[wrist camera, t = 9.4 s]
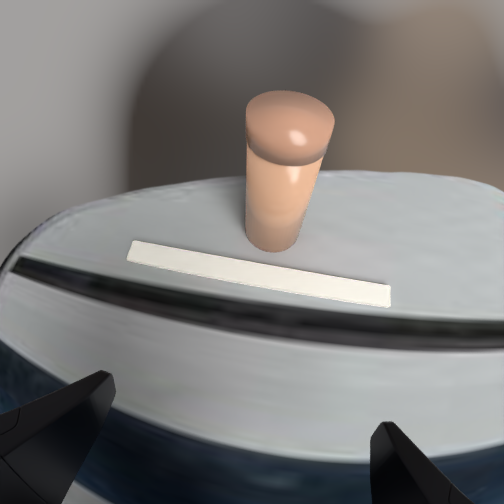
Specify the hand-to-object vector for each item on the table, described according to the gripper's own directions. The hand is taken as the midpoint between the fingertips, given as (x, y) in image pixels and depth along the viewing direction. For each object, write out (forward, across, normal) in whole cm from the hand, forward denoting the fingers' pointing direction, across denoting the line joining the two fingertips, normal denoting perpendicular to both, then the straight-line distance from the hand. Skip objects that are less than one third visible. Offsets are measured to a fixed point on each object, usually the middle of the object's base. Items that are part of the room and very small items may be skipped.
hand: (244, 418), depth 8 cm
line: (+17, +1, +2) cm, 17 cm away
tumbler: (+20, 0, -1) cm, 21 cm away
